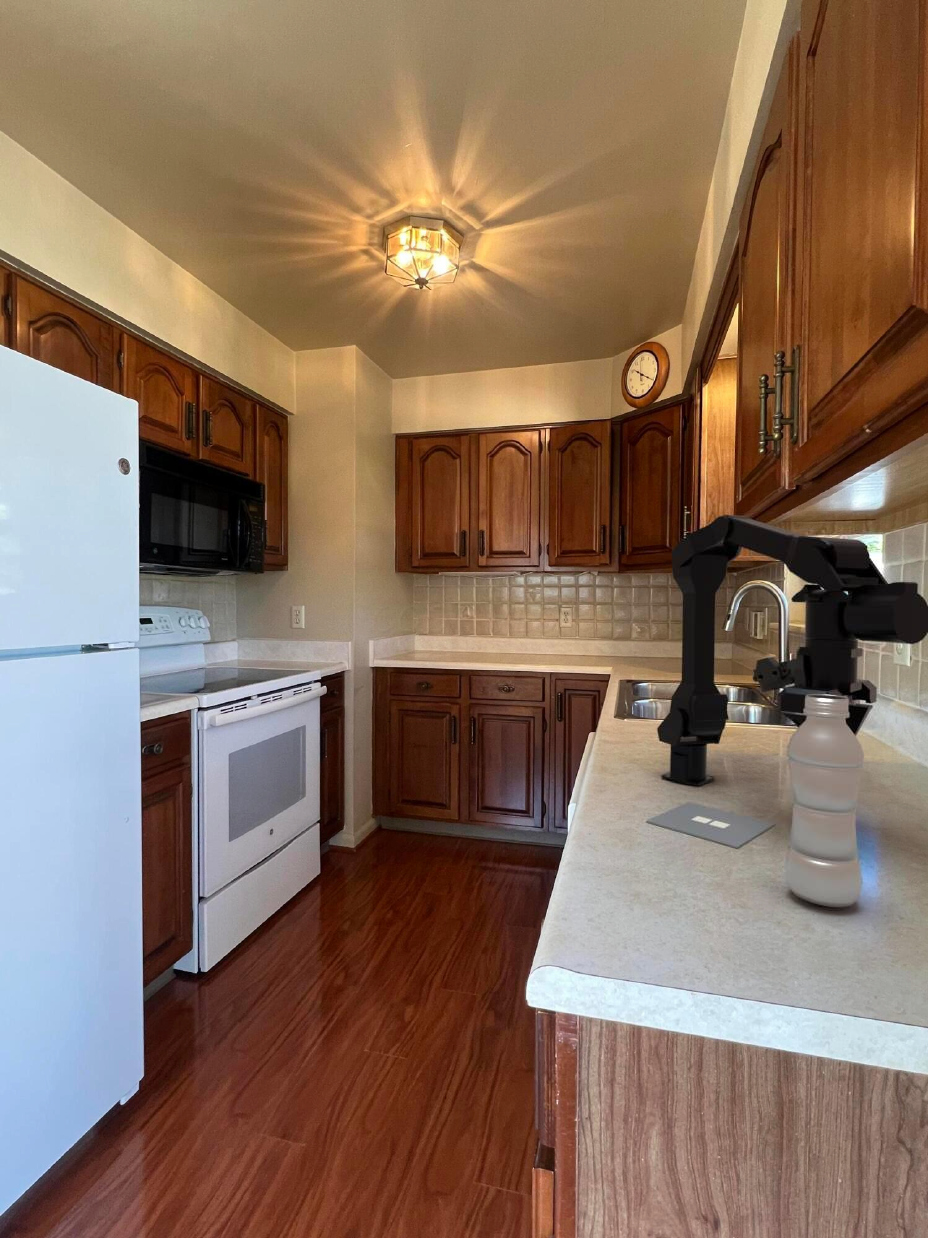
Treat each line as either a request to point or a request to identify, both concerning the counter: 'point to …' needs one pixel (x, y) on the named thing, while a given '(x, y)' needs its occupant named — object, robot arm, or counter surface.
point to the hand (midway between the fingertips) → (827, 764)
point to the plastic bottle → (824, 805)
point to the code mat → (712, 824)
